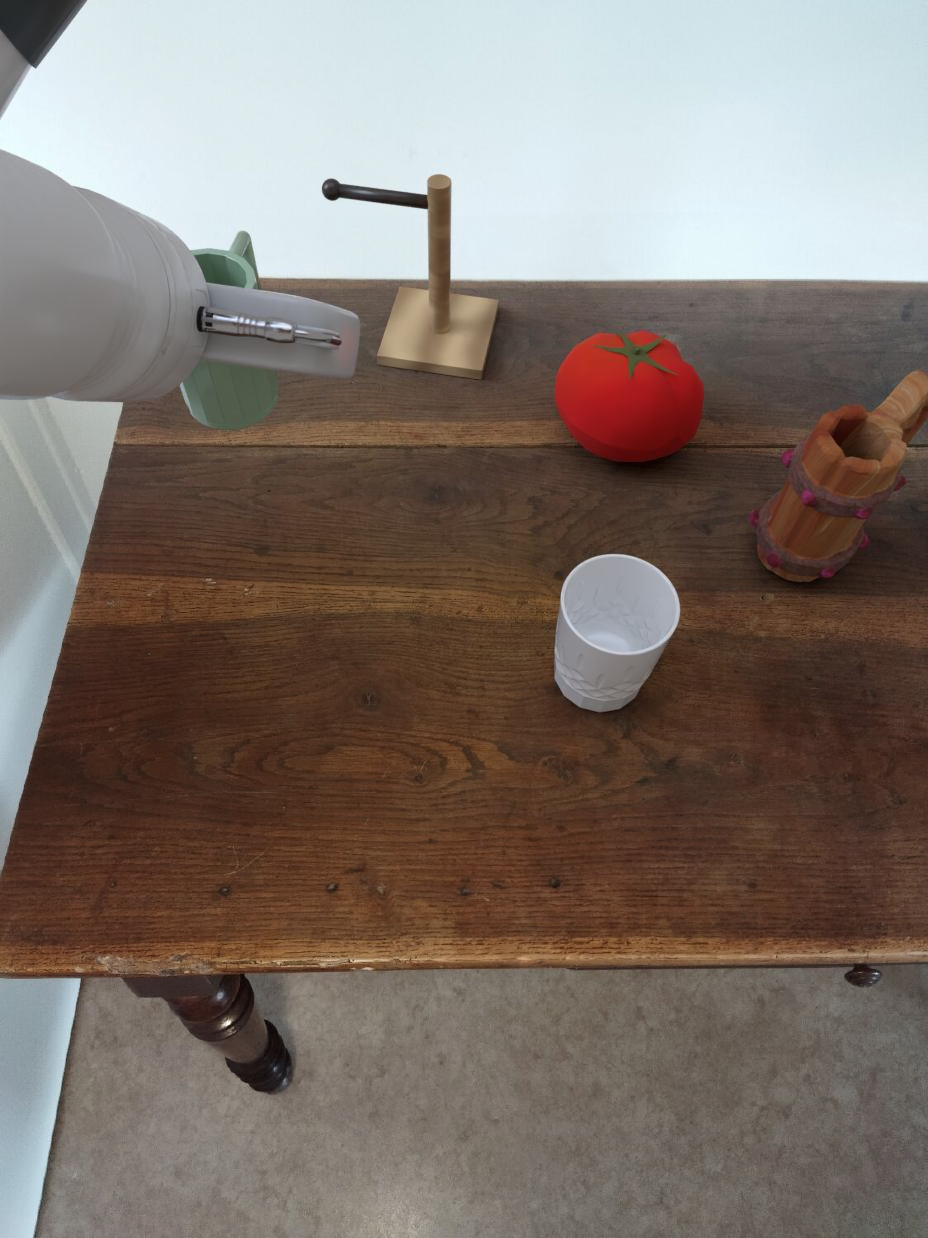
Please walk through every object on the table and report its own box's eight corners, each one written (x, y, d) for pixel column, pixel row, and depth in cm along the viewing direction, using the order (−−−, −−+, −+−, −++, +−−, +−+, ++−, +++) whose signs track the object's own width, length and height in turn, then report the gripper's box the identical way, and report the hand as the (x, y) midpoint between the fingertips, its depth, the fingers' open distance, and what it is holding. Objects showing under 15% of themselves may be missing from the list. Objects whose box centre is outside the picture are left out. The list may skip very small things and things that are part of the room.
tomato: (673, 502, 76) (703, 417, 67) (532, 461, 78) (544, 373, 69) (701, 413, 81) (733, 324, 72) (569, 376, 83) (584, 285, 74)
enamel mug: (263, 436, 57) (235, 323, 49) (173, 422, 57) (132, 308, 49) (306, 331, 62) (287, 214, 54) (223, 319, 62) (193, 201, 54)
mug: (797, 617, 70) (878, 496, 57) (718, 553, 73) (778, 424, 60) (904, 521, 75) (1000, 391, 62) (826, 465, 78) (902, 330, 65)
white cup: (544, 626, 69) (559, 551, 60) (645, 629, 69) (674, 555, 60) (546, 718, 65) (562, 652, 56) (653, 722, 65) (685, 657, 56)
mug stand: (498, 309, 88) (509, 153, 74) (481, 380, 83) (489, 226, 69) (351, 288, 89) (334, 131, 75) (325, 357, 84) (302, 201, 70)
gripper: (331, 263, 40) (390, 300, 53) (-97, 203, 41) (66, 254, 54) (316, 406, 41) (378, 408, 54) (-95, 344, 43) (63, 360, 56)
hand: (219, 331), depth 54 cm, fingers closed on enamel mug, 6 cm apart
